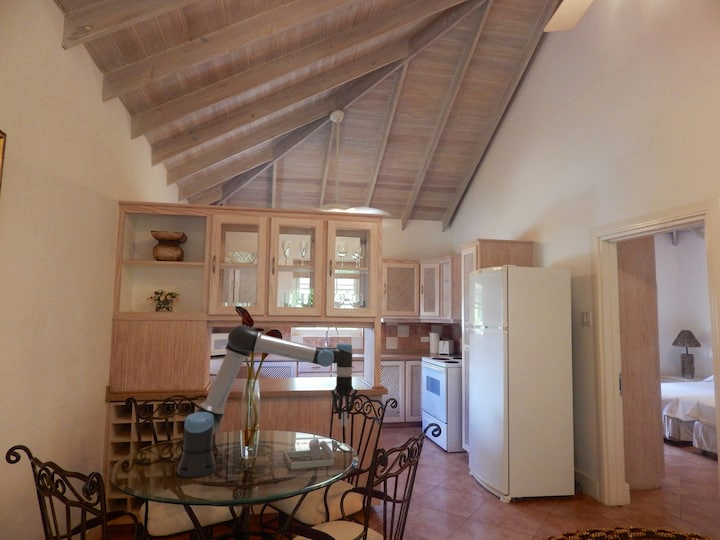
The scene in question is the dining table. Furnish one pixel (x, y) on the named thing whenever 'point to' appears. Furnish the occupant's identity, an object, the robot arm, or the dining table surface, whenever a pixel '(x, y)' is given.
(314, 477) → the dining table surface
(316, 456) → the wall hook
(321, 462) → the keeper channel
